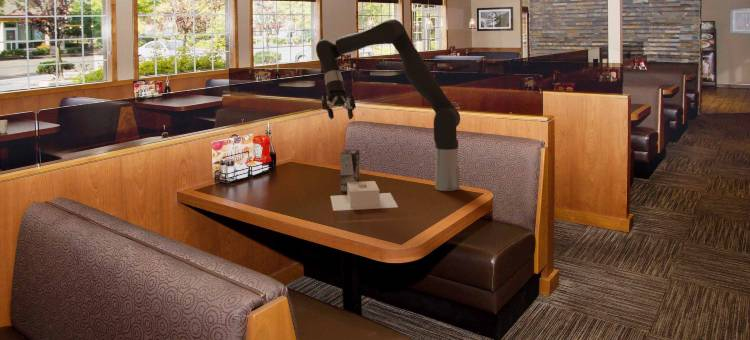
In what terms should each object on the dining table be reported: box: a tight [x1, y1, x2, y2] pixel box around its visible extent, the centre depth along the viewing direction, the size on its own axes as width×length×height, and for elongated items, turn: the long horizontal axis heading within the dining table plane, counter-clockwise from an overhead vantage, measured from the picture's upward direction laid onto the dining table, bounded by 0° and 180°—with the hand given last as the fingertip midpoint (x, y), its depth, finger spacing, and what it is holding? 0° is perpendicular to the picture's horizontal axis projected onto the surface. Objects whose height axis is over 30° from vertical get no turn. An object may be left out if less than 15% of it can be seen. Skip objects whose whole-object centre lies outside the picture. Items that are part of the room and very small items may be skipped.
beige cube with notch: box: [346, 180, 380, 207], centre depth 234 cm, size 11×14×6 cm
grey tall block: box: [339, 149, 361, 192], centre depth 252 cm, size 9×6×16 cm
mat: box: [329, 192, 399, 212], centre depth 235 cm, size 24×20×1 cm
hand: (341, 118), depth 253 cm, fingers open, 8 cm apart
